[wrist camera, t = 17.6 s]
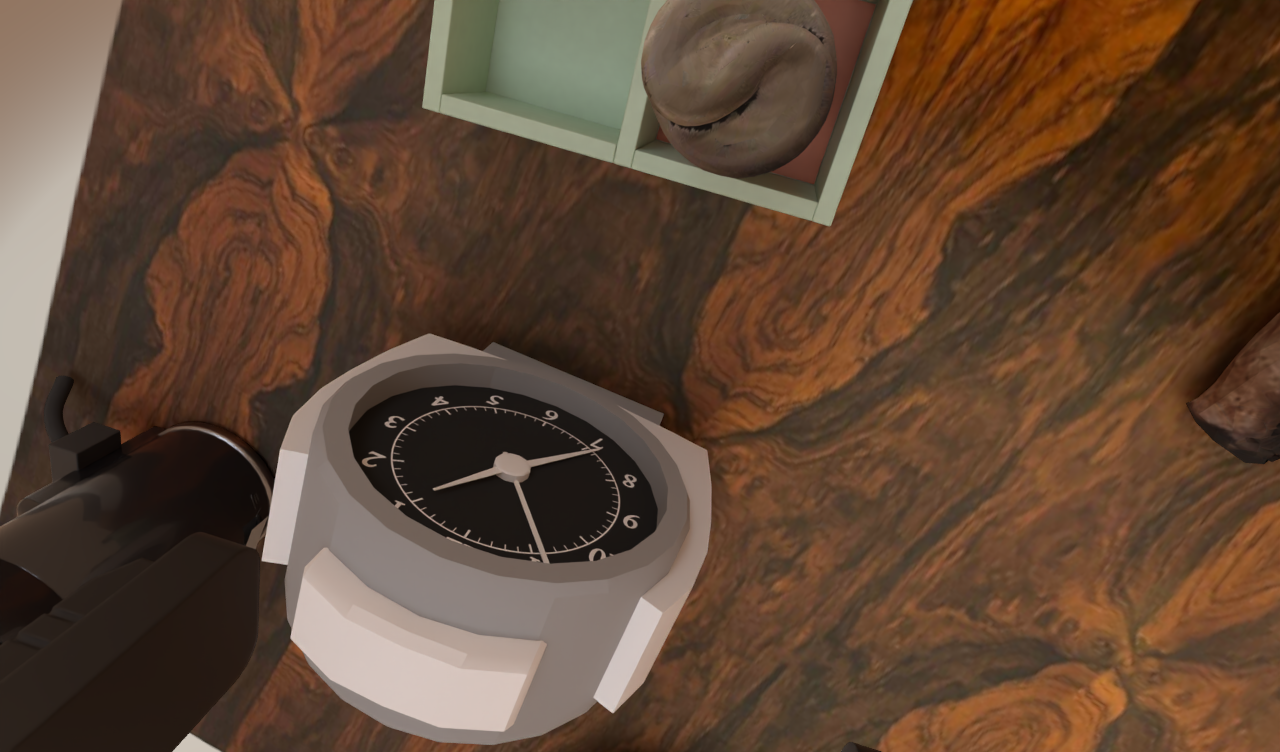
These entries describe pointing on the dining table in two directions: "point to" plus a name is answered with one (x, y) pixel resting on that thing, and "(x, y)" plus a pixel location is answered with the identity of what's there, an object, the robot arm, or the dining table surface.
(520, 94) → the divided tray
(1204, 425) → the ceramic vessel
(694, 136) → the grey-beige cylinder
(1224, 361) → the dining table surface
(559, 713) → the alarm clock
